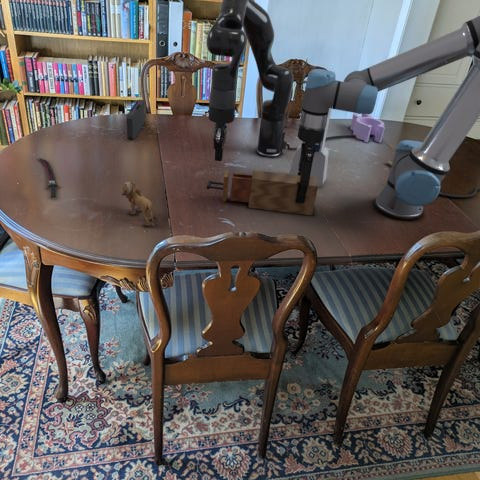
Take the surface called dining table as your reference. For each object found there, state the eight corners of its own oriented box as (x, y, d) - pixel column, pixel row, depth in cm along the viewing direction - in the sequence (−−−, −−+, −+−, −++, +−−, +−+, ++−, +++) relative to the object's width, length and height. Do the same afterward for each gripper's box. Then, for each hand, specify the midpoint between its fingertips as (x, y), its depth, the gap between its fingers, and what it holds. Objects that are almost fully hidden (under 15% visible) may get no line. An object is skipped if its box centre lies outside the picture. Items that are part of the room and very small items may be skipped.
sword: (61, 197, 141) (61, 193, 140) (50, 198, 139) (50, 194, 139) (49, 160, 164) (48, 156, 163) (39, 160, 163) (39, 157, 162)
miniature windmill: (301, 130, 212) (313, 61, 196) (283, 127, 213) (293, 58, 197) (303, 124, 220) (314, 57, 204) (285, 121, 221) (295, 54, 205)
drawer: (205, 199, 147) (206, 174, 143) (207, 191, 151) (209, 167, 147) (282, 208, 147) (286, 184, 142) (282, 200, 151) (286, 177, 146)
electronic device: (325, 180, 169) (342, 97, 152) (321, 188, 163) (339, 103, 146) (292, 173, 172) (306, 91, 155) (287, 181, 165) (301, 96, 149)
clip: (343, 126, 223) (346, 112, 219) (367, 127, 225) (371, 113, 221) (360, 142, 206) (364, 127, 202) (386, 142, 209) (390, 127, 205)
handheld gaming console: (138, 121, 203) (138, 98, 197) (145, 121, 203) (144, 98, 198) (126, 140, 184) (125, 115, 178) (133, 140, 184) (132, 115, 178)
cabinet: (248, 207, 147) (251, 178, 141) (249, 198, 152) (253, 169, 147) (312, 215, 146) (318, 186, 141) (311, 205, 152) (316, 177, 146)
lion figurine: (118, 210, 138) (116, 182, 133) (132, 204, 141) (131, 177, 137) (151, 229, 130) (150, 201, 126) (165, 223, 134) (165, 195, 129)
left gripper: (212, 95, 139) (209, 150, 148) (206, 109, 127) (202, 167, 137) (237, 98, 138) (232, 153, 148) (233, 112, 127) (228, 170, 137)
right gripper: (298, 114, 143) (287, 181, 155) (300, 136, 126) (287, 210, 138) (322, 116, 143) (309, 184, 155) (327, 140, 126) (312, 213, 138)
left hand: (218, 160), depth 142 cm, fingers closed
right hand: (299, 196), depth 147 cm, fingers open, 7 cm apart
